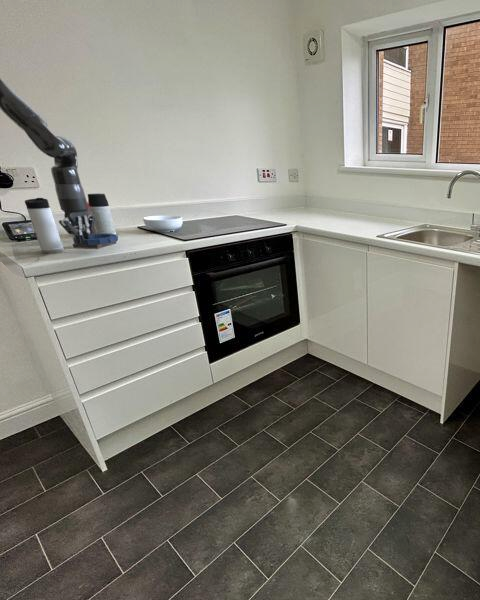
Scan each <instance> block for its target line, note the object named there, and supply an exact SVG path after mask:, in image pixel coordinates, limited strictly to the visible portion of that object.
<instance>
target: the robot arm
mask: <svg viewBox="0 0 480 600" xmlns="http://www.w3.org/2000/svg"><path fill="white" fill-rule="evenodd" d="M0 111H1V112H2V113H3V114H4V115H5V116H6V117H7V118H8V119H10V120H11V121H12V123H14V124H15V125H16V126H17V127H18V128H19V129H21V130H22V131H23V132H24V133H25V134H26V136H27V137H28V139H29V140H30V141H31V142H32V143H33V144H34V146H35V147H36V148H37V149H38V150H39V151H40V152H41V153H43V154H44V155H46V156H47V157H50V158H53V163H54V165H53V166H51V167H50V173H51V177H52V180H53V183H54V188H55V193H56V197H57V201H58V204H59V207H60V210H61V211H63V212H64V215H63V217H64V218H63V219H60V220H59V221H58V223H59V225H60V226H61V227H62V228H63V229H64V230H65V231H66V232H67V234H68V235H72V236H74V237H76V241H77V243H78V245H85V240H84V239H91V237H90V232H91V231H94V225H95V219H96V217H95V216H90V215H89V214H88V212H87V210H88V209H89V208H88V204H87V202H88V200H87V198H86V194H85V189H84V188H83V185H82V181H81V178H80V174H79V171H78V167H79V165H78V152H77V149H76V146H75V145H74V143H73V142H72V141H71V140H70V139H68V138H66V137H64V136H58V135H55V134H54V133H53V132H52V131H51V130H50V129H49V128H48V123H47V122H46V119H44V118H43V117H42V116H41V115H40V114H39V113H38V112H36V110H34V108H32V106H30V105H29V104H28V103H27V102H26V101H25V100H23V99H22V98H21V97H20V95H18V93H16V92H15V91H14V90H13V89H12V88H11V87H10V86H9V85H8V84H7V83H6V82H5V81H4V80H3V79H2V78H1V77H0ZM89 225H90V226H89ZM76 226H78V227H76ZM89 227H90V228H89ZM84 228H85V229H84ZM76 229H77V230H78V232H77V230H76ZM82 233H83V234H82Z"/></svg>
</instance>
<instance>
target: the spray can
mask: <svg viewBox="0 0 480 600" xmlns="http://www.w3.org/2000/svg"><path fill="white" fill-rule="evenodd" d="M87 202H88V203H89V206H90V210H91V214H92V216H95V217H96V219H95V228H96V232H97V234H101V233H103V234H104V233H107V234H116V235H117V231H116V227H115V223H114V220H113V216H112V212H111V208H110V204H109V201H108V199H107V197H106V194H105V193H87Z"/></svg>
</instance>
